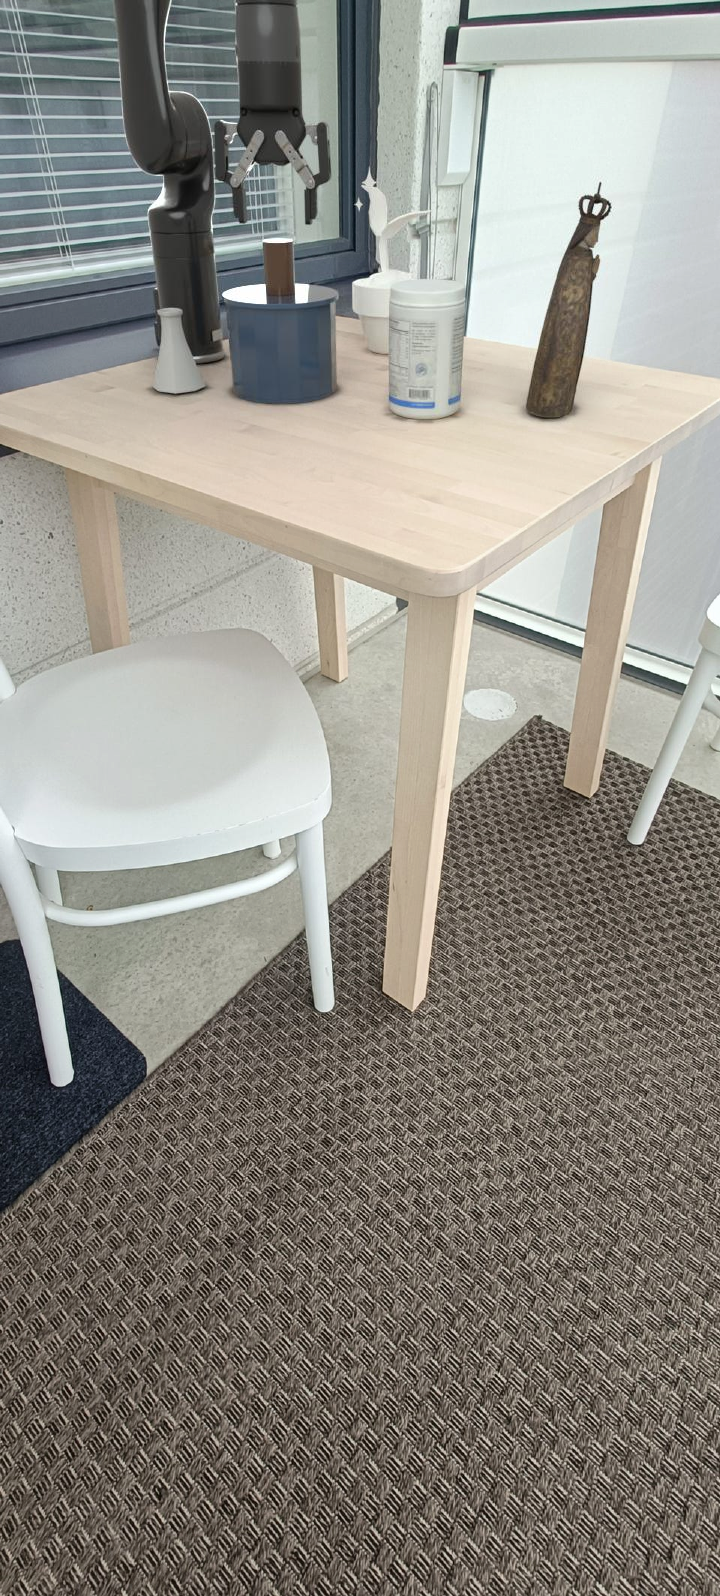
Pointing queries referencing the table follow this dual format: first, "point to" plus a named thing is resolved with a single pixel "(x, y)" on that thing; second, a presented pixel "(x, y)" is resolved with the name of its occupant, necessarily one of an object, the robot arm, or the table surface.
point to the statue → (567, 319)
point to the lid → (279, 283)
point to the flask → (175, 357)
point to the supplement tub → (426, 347)
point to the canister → (283, 353)
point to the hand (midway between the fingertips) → (275, 223)
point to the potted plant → (375, 290)
